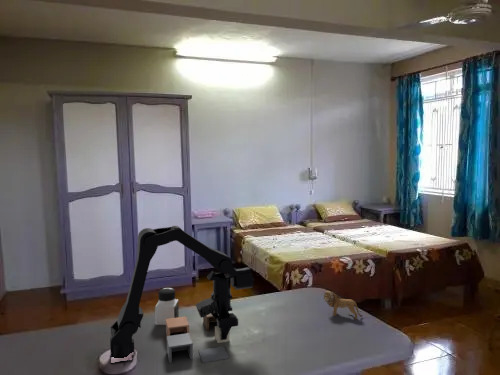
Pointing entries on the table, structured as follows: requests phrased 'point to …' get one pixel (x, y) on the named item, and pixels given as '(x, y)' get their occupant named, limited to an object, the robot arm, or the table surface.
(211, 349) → the slate pad
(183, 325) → the terracotta block
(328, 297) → the lion figurine
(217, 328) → the cream cube
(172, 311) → the medicine bottle
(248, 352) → the table surface
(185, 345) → the grey box
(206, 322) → the box
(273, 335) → the table surface
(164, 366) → the table surface
